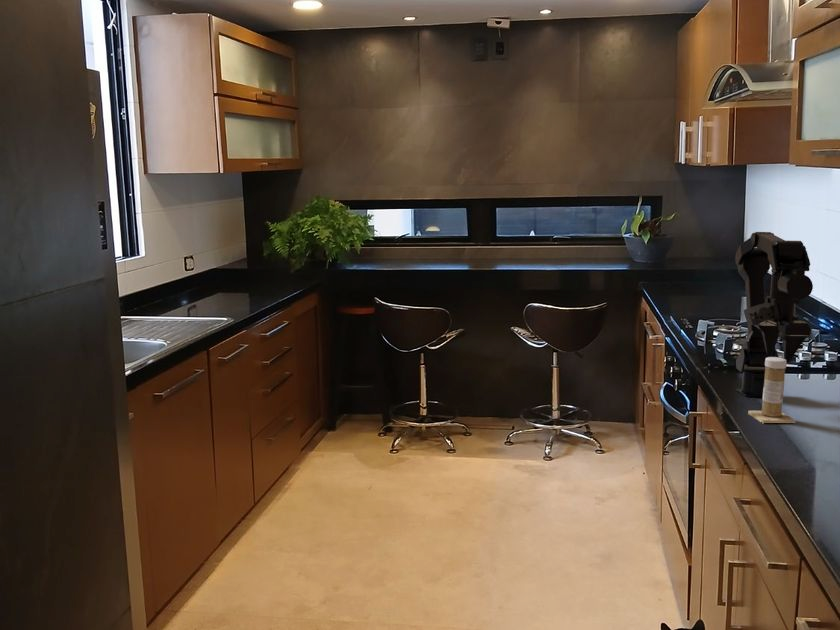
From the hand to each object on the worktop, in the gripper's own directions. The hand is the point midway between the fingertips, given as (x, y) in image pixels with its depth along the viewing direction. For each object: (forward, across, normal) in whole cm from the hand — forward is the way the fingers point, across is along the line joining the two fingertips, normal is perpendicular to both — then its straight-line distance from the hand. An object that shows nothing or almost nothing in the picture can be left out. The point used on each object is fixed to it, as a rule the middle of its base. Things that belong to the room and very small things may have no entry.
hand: (777, 358), depth 199 cm
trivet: (+13, +6, -4) cm, 15 cm away
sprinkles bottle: (+12, +6, -3) cm, 14 cm away
